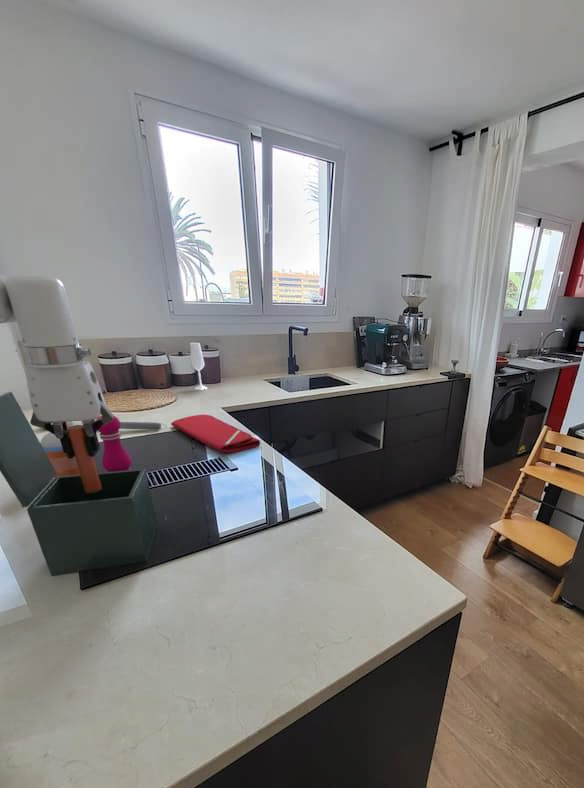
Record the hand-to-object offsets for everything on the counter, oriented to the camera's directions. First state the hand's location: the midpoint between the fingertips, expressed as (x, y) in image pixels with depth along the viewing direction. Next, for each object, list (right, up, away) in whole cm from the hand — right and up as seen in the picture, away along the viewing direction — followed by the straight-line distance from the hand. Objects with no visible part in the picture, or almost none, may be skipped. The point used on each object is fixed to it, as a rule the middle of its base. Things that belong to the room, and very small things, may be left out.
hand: (83, 454), depth 74 cm
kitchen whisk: (-40, +11, +76) cm, 86 cm away
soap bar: (-65, +12, +78) cm, 102 cm away
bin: (-1, -20, +9) cm, 22 cm away
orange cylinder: (0, -7, +3) cm, 8 cm away
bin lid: (-9, +1, -4) cm, 10 cm away
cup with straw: (-32, -6, +39) cm, 51 cm away
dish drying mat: (-3, +9, +73) cm, 74 cm away
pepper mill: (-18, -6, +40) cm, 44 cm away
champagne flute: (-35, +40, +141) cm, 151 cm away
